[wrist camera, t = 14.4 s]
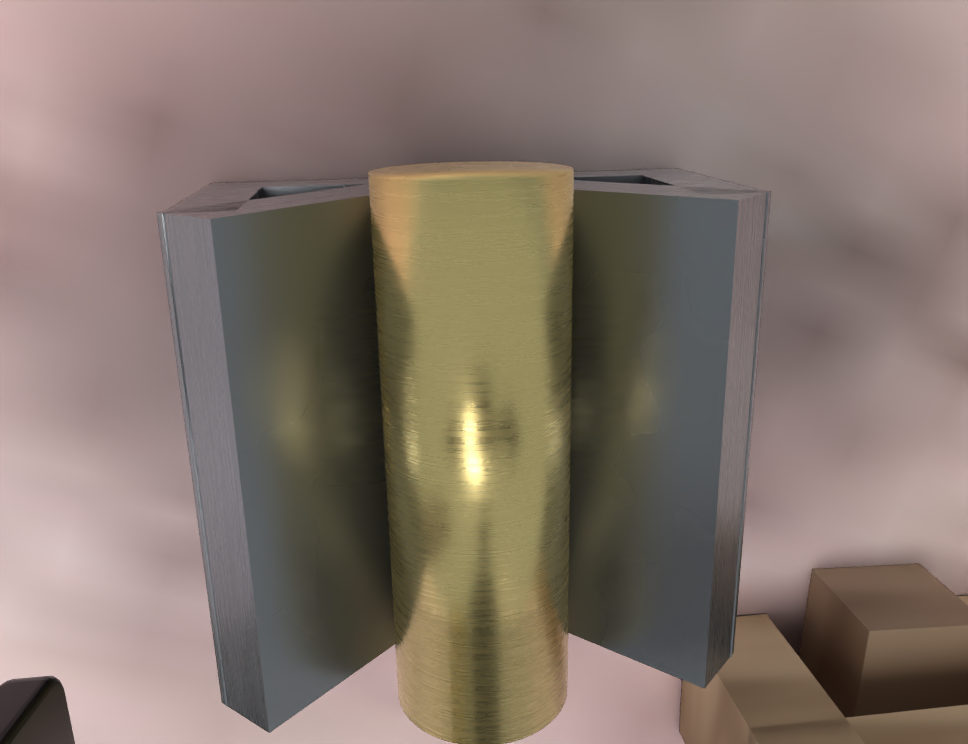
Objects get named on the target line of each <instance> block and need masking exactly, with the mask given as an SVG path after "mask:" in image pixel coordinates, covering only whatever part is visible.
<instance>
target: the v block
mask: <svg viewBox="0 0 968 744" xmlns="http://www.w3.org/2000/svg"><path fill="white" fill-rule="evenodd" d="M770 198H771V191H762V190H759V189H755V188H751V187H747V186H743V185H739V184H736V183H732V182H728V181H724V180H720V179H716V178H712V177H709V176H705V175H701V174H697V173H693V172H689V171H686V170H682V169H678V168H676V169H645V170H613V171H581V172H574V195H573V274H572V352H571V431H570V510H569V588H568V633H571V634H573V635H575V636H578V637H580V638H583V639H585V640H587V641H590V642H592V643H595V644H597V645H600V646H602V647H604V648H607V649H609V650H612V651H614V652H617V653H619V654H621V655H624V656H626V657H629V658H631V659H633V660H636V661H638V662H641V663H643V664H646V665H648V666H650V667H653V668H655V669H658V670H660V671H663V672H665V673H667V674H670V675H672V676H675V677H677V678H680V679H682V680H684V681H687V682H689V683H692V684H694V685H696V686H699V687H701V688H704V689H705V688H706V686H707V685H708V684H709V683H710V682H711V680H712V679H713V678H714V677H715V675H716V674H717V673H718V672H719V670H720V669H721V668H722V667H723V665H724V664H725V663H726V662H727V661H728V659H729V658H730V657H732V654H733V653H734V642H735V630H736V617H737V605H738V593H739V580H740V568H741V556H742V543H743V531H744V518H745V506H746V494H747V481H748V469H749V457H750V444H751V432H752V420H753V407H754V395H755V383H756V370H757V358H758V346H759V333H760V321H761V309H762V296H763V284H764V272H765V259H766V247H767V235H768V222H769V210H770ZM157 218H158V225H159V233H160V240H161V248H162V255H163V263H164V270H165V278H166V285H167V293H168V300H169V308H170V315H171V323H172V331H173V338H174V346H175V353H176V361H177V368H178V376H179V383H180V391H181V398H182V406H183V413H184V421H185V428H186V436H187V443H188V451H189V458H190V466H191V473H192V481H193V489H194V496H195V504H196V511H197V519H198V526H199V534H200V541H201V549H202V556H203V564H204V571H205V579H206V586H207V594H208V601H209V609H210V616H211V624H212V631H213V639H214V647H215V654H216V662H217V669H218V677H219V684H220V692H221V699H222V703H223V704H225V705H226V706H228V707H230V708H231V709H233V710H234V711H236V712H237V713H239V714H241V715H242V716H244V717H245V718H247V719H248V720H250V721H251V722H253V723H255V724H256V725H258V726H259V727H261V728H262V729H264V730H265V731H267V732H269V733H270V732H271V731H273V730H274V729H275V728H277V727H278V726H280V725H281V724H282V723H284V722H285V721H287V720H288V719H290V718H291V717H292V716H294V715H295V714H297V713H298V712H299V711H301V710H302V709H304V708H305V707H307V706H308V705H309V704H311V703H312V702H314V701H315V700H316V699H318V698H319V697H321V696H322V695H323V694H325V693H326V692H328V691H329V690H331V689H332V688H333V687H335V686H336V685H338V684H339V683H340V682H342V681H343V680H345V679H346V678H348V677H349V676H350V675H352V674H353V673H355V672H356V671H357V670H359V669H360V668H362V667H363V666H364V665H366V664H367V663H369V662H370V661H372V660H373V659H374V658H376V657H377V656H379V655H380V654H381V653H383V652H384V651H386V650H387V649H389V648H390V647H391V646H393V645H394V644H396V642H395V625H394V608H393V591H392V573H391V556H390V539H389V522H388V505H387V487H386V470H385V453H384V436H383V418H382V401H381V384H380V367H379V349H378V332H377V315H376V298H375V280H374V263H373V246H372V229H371V212H370V194H369V178H357V179H326V180H294V181H262V182H230V183H210V184H209V185H207V186H205V187H204V188H202V189H200V190H199V191H197V192H195V193H194V194H192V195H191V196H189V197H187V198H186V199H184V200H182V201H181V202H179V203H177V204H176V205H174V206H173V207H171V208H169V209H168V210H166V211H164V212H157Z"/></svg>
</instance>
